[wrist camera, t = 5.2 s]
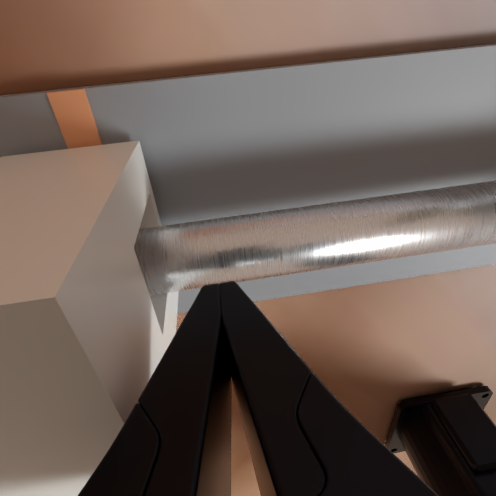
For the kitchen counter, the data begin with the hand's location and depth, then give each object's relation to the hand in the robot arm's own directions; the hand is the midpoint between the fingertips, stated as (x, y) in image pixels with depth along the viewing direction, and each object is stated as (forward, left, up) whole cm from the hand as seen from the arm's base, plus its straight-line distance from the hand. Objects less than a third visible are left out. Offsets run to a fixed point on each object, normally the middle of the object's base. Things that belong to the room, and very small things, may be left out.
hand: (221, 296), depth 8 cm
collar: (0, +4, -5) cm, 6 cm away
